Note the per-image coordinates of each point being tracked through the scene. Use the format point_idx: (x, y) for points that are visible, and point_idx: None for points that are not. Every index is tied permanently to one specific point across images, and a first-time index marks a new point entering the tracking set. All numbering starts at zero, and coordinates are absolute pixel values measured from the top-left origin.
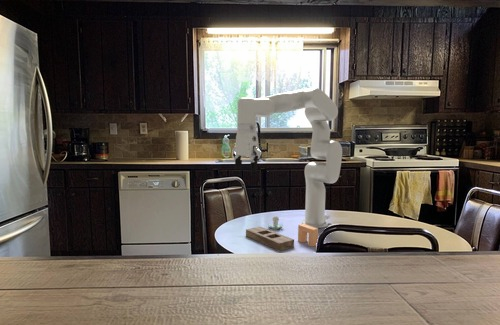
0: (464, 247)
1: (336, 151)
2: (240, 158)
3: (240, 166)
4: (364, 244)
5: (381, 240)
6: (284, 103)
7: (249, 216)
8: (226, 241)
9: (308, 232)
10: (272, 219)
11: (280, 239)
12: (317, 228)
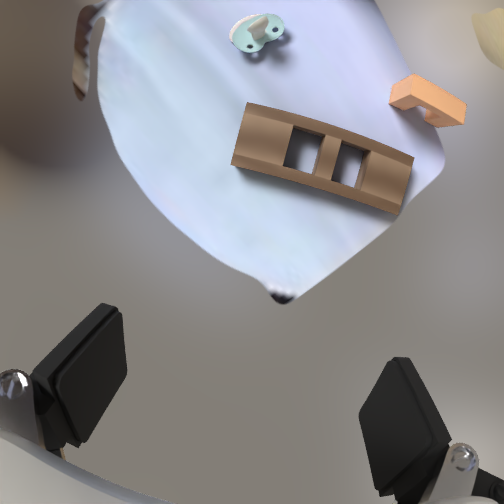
0: None
1: None
2: (38, 410)
3: (106, 344)
4: (492, 58)
5: (494, 22)
6: None
7: (113, 16)
8: (223, 244)
9: (441, 116)
10: (247, 30)
11: (384, 181)
12: (464, 104)
